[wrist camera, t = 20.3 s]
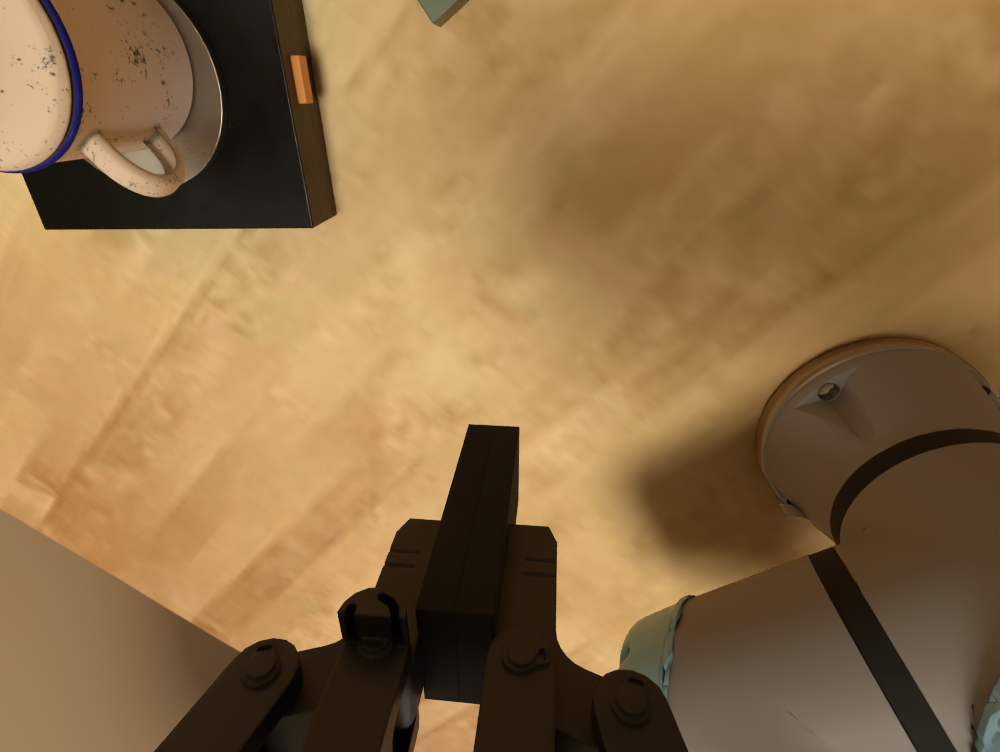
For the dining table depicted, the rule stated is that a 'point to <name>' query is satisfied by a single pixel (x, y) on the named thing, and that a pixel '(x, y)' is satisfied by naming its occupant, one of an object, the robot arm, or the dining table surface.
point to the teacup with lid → (93, 88)
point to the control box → (441, 9)
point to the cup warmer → (219, 134)
